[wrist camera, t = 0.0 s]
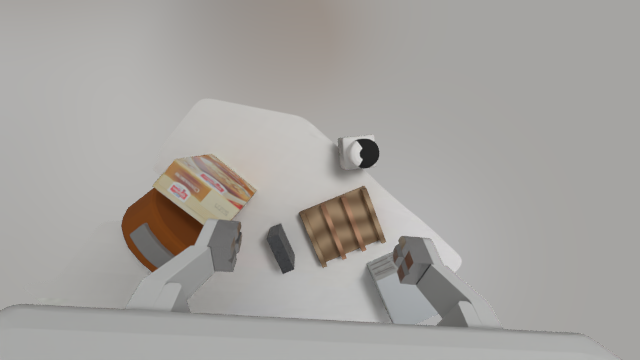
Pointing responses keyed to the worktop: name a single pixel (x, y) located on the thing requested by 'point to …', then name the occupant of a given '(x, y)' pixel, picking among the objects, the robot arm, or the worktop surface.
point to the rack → (342, 225)
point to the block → (281, 248)
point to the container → (358, 152)
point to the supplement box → (399, 293)
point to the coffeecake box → (205, 188)
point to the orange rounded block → (158, 229)
